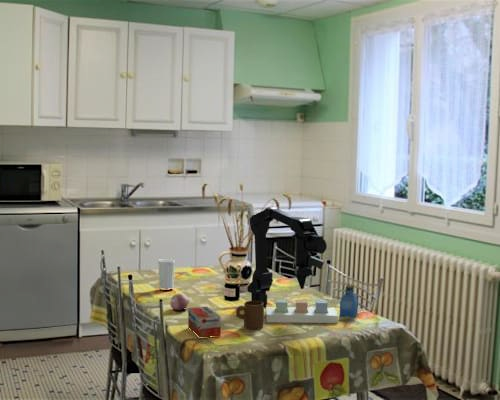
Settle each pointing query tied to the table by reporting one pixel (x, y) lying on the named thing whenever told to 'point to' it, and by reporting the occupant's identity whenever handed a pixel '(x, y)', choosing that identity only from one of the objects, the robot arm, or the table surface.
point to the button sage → (281, 305)
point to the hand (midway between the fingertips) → (302, 288)
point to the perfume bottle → (349, 303)
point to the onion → (179, 301)
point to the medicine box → (204, 321)
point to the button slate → (321, 306)
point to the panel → (301, 315)
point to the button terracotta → (301, 306)
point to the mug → (252, 314)
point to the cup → (166, 273)
